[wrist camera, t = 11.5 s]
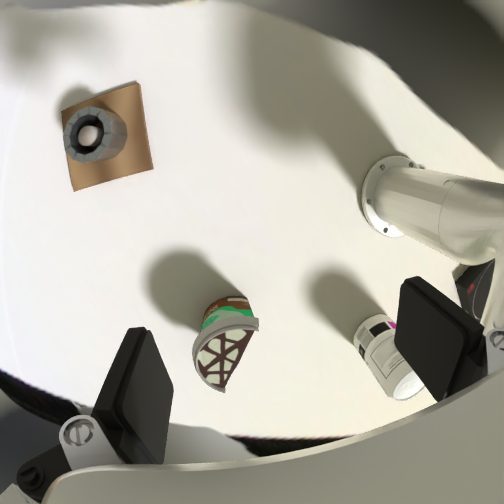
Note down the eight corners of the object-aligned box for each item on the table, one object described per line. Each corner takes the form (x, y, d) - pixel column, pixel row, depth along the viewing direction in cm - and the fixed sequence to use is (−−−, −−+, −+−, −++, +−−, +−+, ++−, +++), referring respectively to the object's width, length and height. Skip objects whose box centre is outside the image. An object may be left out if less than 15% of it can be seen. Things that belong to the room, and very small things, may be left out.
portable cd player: (505, 280, 51) (515, 286, 47) (465, 326, 53) (475, 334, 49) (497, 231, 46) (509, 236, 42) (453, 281, 48) (465, 289, 44)
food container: (211, 275, 41) (210, 311, 31) (251, 289, 42) (260, 327, 33) (185, 341, 44) (180, 384, 34) (221, 352, 45) (223, 395, 36)
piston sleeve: (123, 107, 31) (107, 99, 25) (130, 153, 33) (115, 153, 27) (82, 121, 30) (60, 117, 25) (88, 165, 33) (68, 168, 27)
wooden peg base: (140, 84, 31) (127, 73, 25) (153, 169, 35) (141, 171, 29) (64, 111, 30) (43, 107, 25) (76, 190, 34) (56, 197, 29)
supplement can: (395, 310, 47) (442, 358, 33) (383, 347, 49) (422, 397, 35) (357, 313, 46) (401, 368, 32) (347, 352, 48) (382, 409, 34)
